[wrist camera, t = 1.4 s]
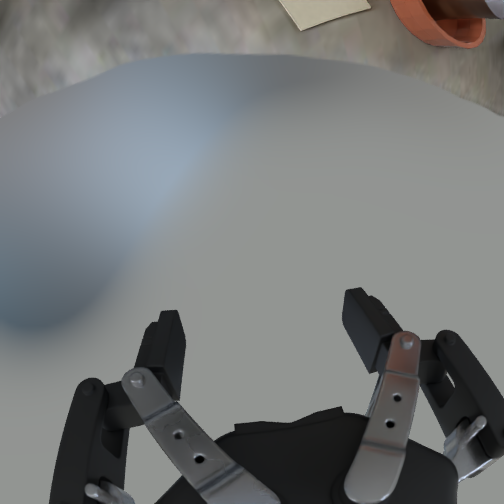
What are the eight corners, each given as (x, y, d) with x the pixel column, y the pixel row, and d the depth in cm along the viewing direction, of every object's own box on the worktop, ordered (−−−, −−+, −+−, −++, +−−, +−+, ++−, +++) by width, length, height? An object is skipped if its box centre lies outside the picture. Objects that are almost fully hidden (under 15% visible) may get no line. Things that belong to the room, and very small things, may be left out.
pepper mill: (410, -6, 18) (474, -20, 7) (431, -8, 17) (494, -17, 5) (425, 22, 20) (493, 19, 9) (445, 19, 19) (511, 19, 8)
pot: (371, -26, 17) (392, -38, 12) (433, -31, 13) (457, -37, 8) (415, 54, 24) (443, 55, 19) (469, 41, 21) (496, 43, 15)
